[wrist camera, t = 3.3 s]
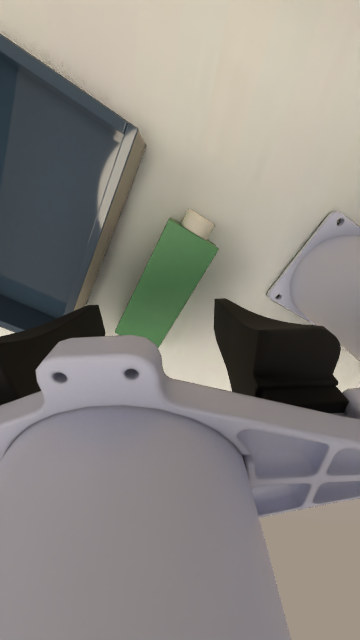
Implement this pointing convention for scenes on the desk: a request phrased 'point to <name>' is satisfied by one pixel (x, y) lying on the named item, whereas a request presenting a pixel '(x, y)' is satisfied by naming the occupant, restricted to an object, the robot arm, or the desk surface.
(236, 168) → the desk surface
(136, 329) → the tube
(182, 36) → the desk surface
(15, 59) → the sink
